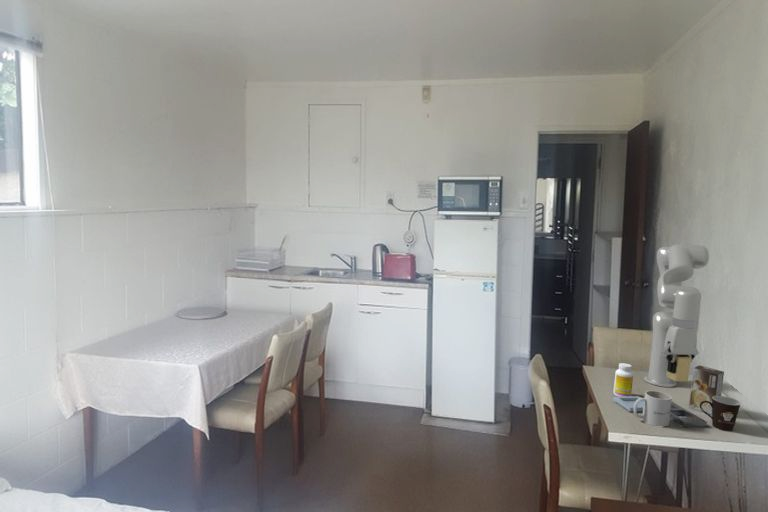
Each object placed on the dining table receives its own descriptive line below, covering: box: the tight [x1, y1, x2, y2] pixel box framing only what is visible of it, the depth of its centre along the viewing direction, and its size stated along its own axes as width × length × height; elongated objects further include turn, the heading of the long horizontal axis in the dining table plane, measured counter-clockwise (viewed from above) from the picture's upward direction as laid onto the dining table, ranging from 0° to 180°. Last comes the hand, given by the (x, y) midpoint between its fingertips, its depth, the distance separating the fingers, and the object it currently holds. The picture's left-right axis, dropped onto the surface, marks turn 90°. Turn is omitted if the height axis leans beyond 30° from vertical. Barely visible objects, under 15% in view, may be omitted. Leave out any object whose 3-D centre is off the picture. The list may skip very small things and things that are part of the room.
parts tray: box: [612, 395, 644, 413], centre depth 209 cm, size 11×11×2 cm
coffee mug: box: [700, 395, 741, 432], centre depth 195 cm, size 12×9×10 cm
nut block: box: [666, 353, 693, 382], centre depth 199 cm, size 5×5×9 cm
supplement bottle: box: [612, 362, 634, 397], centre depth 220 cm, size 7×7×13 cm
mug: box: [633, 390, 673, 428], centre depth 196 cm, size 12×9×10 cm
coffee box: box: [688, 365, 725, 416], centre depth 209 cm, size 9×6×16 cm
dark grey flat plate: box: [669, 401, 708, 428], centre depth 203 cm, size 9×22×2 cm, turn 9°
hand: (677, 371), depth 200 cm, fingers closed on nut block, 5 cm apart
